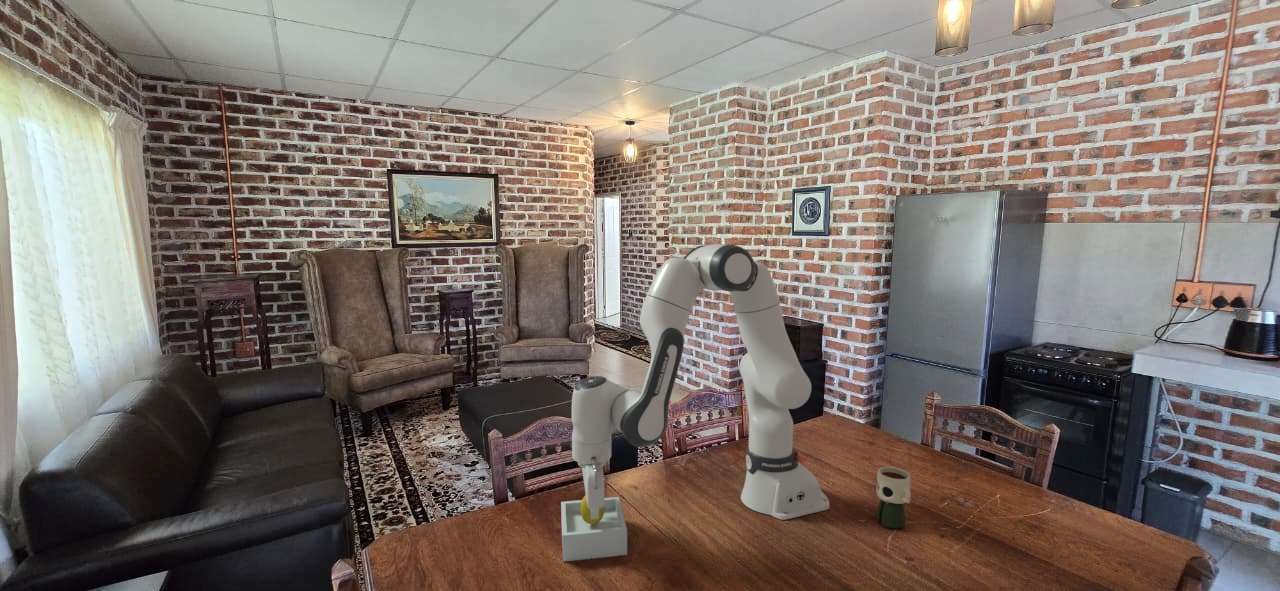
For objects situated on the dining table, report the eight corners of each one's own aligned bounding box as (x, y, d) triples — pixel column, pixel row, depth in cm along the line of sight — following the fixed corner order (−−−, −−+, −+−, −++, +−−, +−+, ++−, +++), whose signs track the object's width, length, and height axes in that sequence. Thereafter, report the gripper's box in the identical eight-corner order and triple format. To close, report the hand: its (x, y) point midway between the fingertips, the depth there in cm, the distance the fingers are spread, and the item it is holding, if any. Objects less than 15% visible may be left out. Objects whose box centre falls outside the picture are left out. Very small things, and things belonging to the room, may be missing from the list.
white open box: (618, 521, 129) (618, 496, 128) (627, 556, 115) (627, 529, 114) (561, 527, 126) (561, 501, 125) (563, 563, 113) (562, 535, 112)
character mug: (863, 513, 132) (866, 464, 130) (887, 509, 133) (890, 461, 131) (893, 538, 121) (897, 485, 119) (919, 534, 123) (923, 481, 121)
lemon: (601, 533, 117) (600, 499, 116) (577, 530, 118) (576, 497, 117) (607, 519, 122) (607, 487, 121) (584, 517, 123) (584, 485, 122)
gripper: (611, 468, 108) (611, 530, 110) (601, 430, 128) (601, 483, 130) (580, 471, 107) (581, 533, 109) (575, 432, 127) (576, 485, 129)
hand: (592, 506), depth 120 cm, fingers open, 8 cm apart
